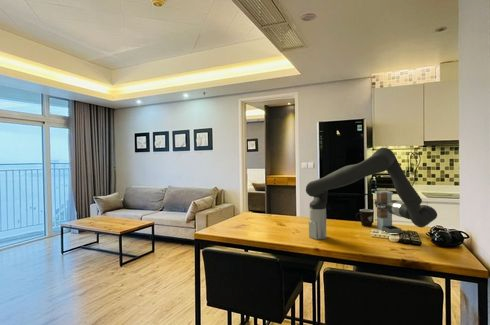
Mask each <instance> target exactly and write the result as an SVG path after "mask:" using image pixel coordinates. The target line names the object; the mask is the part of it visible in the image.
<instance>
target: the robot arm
mask: <svg viewBox="0 0 490 325" xmlns="http://www.w3.org/2000/svg"><path fill="white" fill-rule="evenodd" d="M384 172H387V174H388V175H389V177H390V178H391V180H392V184H393V187H394V189H395V191H396V194H397V195H398V197H399V198H400V200H401V201H399V200H396V199H395V200H394V199H392V201H390V202H389V201H388V202H378V201H377V200H374V205H375V208H376V209H377V208H378V209H380V208H383V209H386V210H388V212H389V213H391V214H392V216H396V217H400V218H403V219H407V220H410V221H411V223H412V224H414V225H415V226H416V227H418V228H424V227H426V226H428V225H429V224H430V223H432V222H433V221H435V220H436V219H437V217H438V213H437V210H436V209H435V208H434V207H432V206H429V205H425V204H422V203H423V200H422V198H421V196H420V195H419V193H418V192H417V191H416V190H415V188H414V187H413V185H412V184H411V182H410V180H409V179H408V178H407V177H408V176H406V174H405V172H404V171H403V169H402V167H401V165H400V163H399V160H398V159H397V156H396V155H395V153H394V152H393V150H391V149H390V148H388V147H380V148H378V149H377V150H376V151H374V152H373V154H371V156H369V157H367V158H366V159H364V160H362V161H361V162H359V163H355V164H349V165H348V164H347V165H346V166H343V167H340V168H339V169H337V170H335V171H332V172H331V173H328V174H327V175H325V176H324V177H321V178H318V179H315V180H312V181H310V182H308V183H307V185H306V186H305V192H306V195H308V196H310V197H311V198H313V199H312V200H311V201H310V202H309V220H308V236H309V238H311V239H314V240H325V239H327V231H328V230H327V205H328V204H327V203H328V193H329V192H328V191H329V190H335V189H339V188H342V187H345V186H348V185H351V184H354V183H356V182H357V181H359V180H362V179H365V178H366V177H369V176H372V175H376V174H380V173H384Z"/></svg>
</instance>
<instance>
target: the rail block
mask: <svg viewBox="0 0 490 325" xmlns="http://www.w3.org/2000/svg"><path fill="white" fill-rule="evenodd" d="M387 191H388V190H376V193H377V194H376V201H378V202H388V201H387ZM377 217H378V218H388V210H386V209H383V208H380V209H378V208H377V207H376V218H377Z"/></svg>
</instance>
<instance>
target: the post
mask: <svg viewBox="0 0 490 325" xmlns="http://www.w3.org/2000/svg"><path fill="white" fill-rule="evenodd" d="M376 191H377V190H376ZM376 191H374V192H375V195H377V193H376ZM386 191H387V201H389V202H390V201H392V200H393V197H392V196H394V192H392V191H390V190H389V191H388V190H386ZM392 225H393V214H391V213H389V212H388V218H378V217H377V216H376V228H377V229H378V230H381V231H382V226H392Z"/></svg>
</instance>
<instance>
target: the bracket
mask: <svg viewBox="0 0 490 325" xmlns="http://www.w3.org/2000/svg"><path fill="white" fill-rule="evenodd" d="M381 231H382V232H383V231H385V232H387V233H403V232H402V228H401V227H397V226H396V225H393V224H392V226H382V230H381ZM385 232H384V233H385ZM387 233H386V234H387Z"/></svg>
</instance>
